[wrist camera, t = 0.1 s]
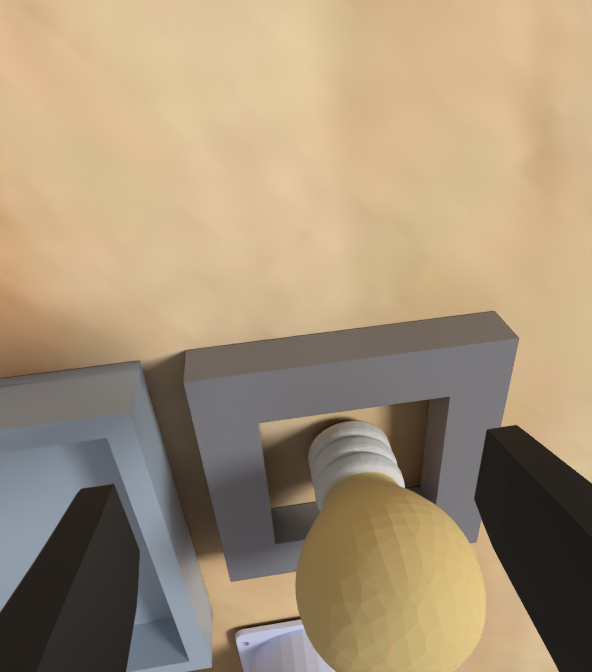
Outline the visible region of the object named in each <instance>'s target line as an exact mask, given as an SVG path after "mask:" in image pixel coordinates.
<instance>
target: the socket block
mask: <svg viewBox="0 0 592 672" xmlns="http://www.w3.org/2000/svg"><path fill="white" fill-rule="evenodd" d="M518 342H519V337H518V336H517V335H516V334H515V333H514V332H513V331H512V330H511V328H510V327H509V326H508V325H507V324H506V323H505V322H504V321H503V320H502V318H501V317H500V316H499V315H498V314H497V313H496V312H495V311H492V312H484V313H476V314H469V315H461V316H453V317H445V318H437V319H429V320H421V321H414V322H406V323H398V324H390V325H382V326H374V327H367V328H359V329H351V330H343V331H335V332H327V333H319V334H312V335H304V336H296V337H288V338H280V339H272V340H265V341H257V342H249V343H241V344H233V345H225V346H217V347H210V348H202V349H194V350H186V356H185V368H184V380H183V383H184V387H185V392H186V396H187V400H188V404H189V409H190V413H191V417H192V421H193V425H194V430H195V434H196V438H197V442H198V446H199V451H200V455H201V459H202V463H203V467H204V472H205V476H206V480H207V484H208V489H209V493H210V497H211V501H212V505H213V510H214V514H215V518H216V522H217V526H218V531H219V535H220V539H221V543H222V547H223V552H224V556H225V560H226V564H227V569H228V573H229V577H230V581H231V582H233V581H240V580H246V579H252V578H258V577H264V576H271V575H277V574H283V573H289V572H295V571H297V564H298V560H299V557H300V553H301V549H302V545H303V543H304V541H305V538H306V536H307V534H308V532H309V530H310V529H311V527H312V525H313V523H314V521H315V520H316V518H317V516H318V515H319V513H320V512H321V511H320V510H319V509H318V506H317V502H313V503H307V504H300V505H294V506H287V507H280V508H274V509H271V502H270V495H269V488H268V481H267V474H266V467H265V460H264V453H263V446H262V439H261V431H260V424H259V423H263V422H270V421H277V420H284V419H292V418H299V417H306V416H313V415H320V414H327V413H335V412H342V411H349V410H356V409H363V408H371V407H378V406H385V405H392V404H399V403H407V402H414V401H421V400H428V399H429V405H428V415H427V425H426V434H425V444H424V454H423V464H422V474H421V484H420V486H419V487H412V488H406V489H408V490H410V491H413V492H415V493H416V494H418V495H420V496H422V497H423V498H425V499H427V500H429V501H430V502H432V503H434V504H435V505H436V506H438V507H439V508H441V509H442V510H443V511H444V512H445V513H446V514H447V515H448V516H449V517H450V518H451V519H453V520H454V522H455V523H456V524H457V526H458V527H459V528H460V529H461V531H462V532H463V534H464V535H465V536H466V538H467V539H468V541H469V543H475V542H477V537H478V533H479V528H480V523H481V516H480V513H479V511H478V508H477V505H476V503H475V500H474V496H475V490H476V485H477V479H478V474H479V468H480V463H481V458H482V452H483V447H484V441H485V436H486V431H487V429H493V428H500V427H501V423H502V418H503V413H504V408H505V404H506V399H507V394H508V389H509V384H510V380H511V375H512V370H513V365H514V361H515V356H516V351H517V346H518Z"/></svg>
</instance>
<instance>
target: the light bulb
mask: <svg viewBox="0 0 592 672" xmlns="http://www.w3.org/2000/svg"><path fill="white" fill-rule="evenodd" d="M308 463H309V468H310V471H311V477H312V483H313V487H314V489H315V497H316V502H317V506H318V509H319V510H320V511H321V512H320V513H319V515H318V516H317V518H316V520H315V521H314V523H313V525H312V527H311V529H310V530H309V532H308V534H307V536H306V538H305V541H304V543H303V545H302V549H301V553H300V557H299V560H298V564H297V572H296V600H297V605H298V610H299V614H300V617H301V621H302V624H303V626H304V629H305V632H306V635H307V637H308V638H309V640H310V642H311V644H312V646H313V647H314V649H315V650H316V651H317V653H318V654H319V655H320V656H321V658H322V659H323V660H324V662H326V663H327V664H328V665H329V666H330V667H331V668H332V669H333V670H334V671H336V672H453V671H454V670H455V669H457V668H458V667H459V666H460V665H461V664H462V663H463V662H464V661H465V660H466V659H467V658H468V657H469V655H470V654H471V652H472V651H473V649H474V648H475V646H476V645H477V643H478V642H479V639H480V637H481V635H482V632H483V628H484V623H485V618H486V594H485V586H484V581H483V577H482V573H481V569H480V566H479V563H478V560H477V557H476V555H475V552H474V550H473V548H472V546H471V545H470V543H469V541H468V539H467V538H466V536H465V535H464V534H463V532H462V531H461V529H460V528H459V527H458V526H457V524H456V523H455V522H454V520H453V519H451V518H450V517H449V516H448V515H447V514H446V513H445V512H444V511H443V510H442V509H441V508H439V507H438V506H436V505H435V504H434V503H432V502H430V501H429V500H427V499H425V498H423V497H422V496H420V495H418V494H416V493H415V492H413V491H410V490H408V489H406V488H405V484H404V479H403V476H402V474H401V471H400V469H399V468H398V466H397V461H396V458H395V456H394V454H393V452H392V450H391V446H390V444H389V441H388V438H387V437H386V435H385V434H384V432H383V431H382V430H381V429H379V428H378V427H377V426H375V425H373V424H371V423H368V422H363V421H347V422H342V423H338V424H335V425H333V426H331V427H329V428H327V429H325V430H324V431H322V432H321V433H320V434H319V435H318V436H317V437H316V438H315V439H314V441H313V442H312V444H311V446H310V449H309V453H308Z"/></svg>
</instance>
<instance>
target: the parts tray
mask: <svg viewBox="0 0 592 672" xmlns="http://www.w3.org/2000/svg"><path fill="white" fill-rule="evenodd" d="M110 484H114V485H115V487H116V490H117V492H118V495H119V498H120V500H121V503H122V505H123V508H124V511H125V513H126V516H127V518H128V521H129V524H130V526H131V529H132V531H133V534H134V536H135V539H136V542H137V544H138V547H139V549H140V561H139V582H138V597H137V609H136V615H135V621H134V627H133V633H132V639H131V646H130V652H129V657H128V663H127V669H126V672H188V671H194V670H200V669H206V668H211V667H212V609H211V605H210V602H209V598H208V595H207V592H206V588H205V585H204V581H203V578H202V574H201V571H200V567H199V564H198V560H197V557H196V553H195V550H194V546H193V543H192V539H191V536H190V533H189V529H188V526H187V522H186V519H185V515H184V512H183V508H182V505H181V501H180V498H179V494H178V491H177V487H176V484H175V481H174V477H173V474H172V470H171V467H170V463H169V460H168V456H167V453H166V449H165V446H164V442H163V439H162V435H161V432H160V428H159V425H158V422H157V418H156V415H155V411H154V408H153V404H152V401H151V397H150V394H149V390H148V387H147V383H146V380H145V376H144V373H143V369H142V366H141V363H140V361H134V362H126V363H118V364H111V365H103V366H95V367H87V368H79V369H71V370H64V371H56V372H48V373H40V374H32V375H25V376H17V377H9V378H1V379H0V611H1V610H2V608H3V607H4V606H5V604H6V603H7V601H8V600H9V598H10V597H11V595H12V594H13V592H14V591H15V589H16V588H17V586H18V585H19V583H20V582H21V580H22V579H23V577H24V576H25V574H26V573H27V571H28V570H29V568H30V567H31V565H32V564H33V562H34V561H35V559H36V558H37V556H38V555H39V553H40V551H41V550H42V548H43V547H44V545H45V544H46V542H47V540H48V539H49V537H50V536H51V534H52V533H53V531H54V529H55V528H56V526H57V525H58V523H59V521H60V520H61V518H62V516H63V515H64V513H65V512H66V510H67V508H68V507H69V505H70V504H71V502H72V500H73V499H74V497H75V496H76V494H77V493H78V492H79V490H80V489H82V488H89V487H96V486H103V485H110Z"/></svg>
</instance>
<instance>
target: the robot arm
mask: <svg viewBox="0 0 592 672" xmlns="http://www.w3.org/2000/svg"><path fill="white" fill-rule="evenodd" d="M474 500H475V503H476V505H477V508H478V511H479V513H480V516H481V519H482V521H483V524H484V526H485V529H486V531H487V534H488V536H489V539H490V541H491V544H492V546H493V548H494V550H495V552H496V554H497V556H498V558H499V560H500V562H501V564H502V566H503V568H504V569H505V571H506V573H507V575H508V577H509V579H510V581H511V583H512V585H513V586H514V588H515V590H516V592H517V594H518V596H519V598H520V599H521V601H522V603H523V605H524V607H525V609H526V611H527V612H528V614H529V616H530V618H531V620H532V622H533V624H534V625H535V627H536V629H537V631H538V633H539V635H540V637H541V638H542V640H543V642H544V644H545V646H546V648H547V649H548V651H549V653H550V655H551V657H552V659H553V661H554V662H555V664H556V666H557V668H558V671H559V672H592V483H590V482H589V481H588V480H586V479H585V478H584V477H583V476H581V475H580V474H579V473H577V472H576V471H575V470H574V469H572V468H571V467H570V466H568V465H567V464H566V463H565V462H563V461H562V460H561V459H559V458H558V457H557V456H556V455H554V454H553V453H552V452H551V451H549V450H548V449H547V448H546V447H544V446H543V445H542V444H540V443H539V442H538V441H537V440H535V439H534V438H533V437H532V436H530V435H529V434H528V433H526V432H525V431H524V430H522V429H521V428H520V427H519V426H517V425H513V426H507V427H500V428H493V429H487V431H486V436H485V441H484V447H483V452H482V458H481V463H480V468H479V474H478V479H477V485H476V490H475V496H474ZM139 561H140V549H139V547H138V544H137V542H136V539H135V536H134V534H133V531H132V529H131V526H130V524H129V521H128V518H127V516H126V513H125V511H124V508H123V505H122V503H121V500H120V498H119V495H118V492H117V490H116V487H115V485H114V484H110V485H103V486H96V487H89V488H82V489H80V490H79V492H78V493H77V494H76V496H75V497H74V499H73V500H72V502H71V504H70V505H69V507H68V508H67V510H66V512H65V513H64V515H63V516H62V518H61V520H60V521H59V523H58V525H57V526H56V528H55V529H54V531H53V533H52V534H51V536H50V537H49V539H48V540H47V542H46V544H45V545H44V547H43V548H42V550H41V551H40V553H39V555H38V556H37V558H36V559H35V561H34V562H33V564H32V565H31V567H30V568H29V570H28V571H27V573H26V574H25V576H24V577H23V579H22V580H21V582H20V583H19V585H18V586H17V588H16V589H15V591H14V592H13V594H12V595H11V597H10V598H9V600H8V601H7V603H6V604H5V606H4V607H3V608H2V610H1V611H0V672H126V669H127V663H128V657H129V652H130V646H131V639H132V633H133V627H134V621H135V615H136V609H137V597H138V582H139ZM235 640H236V644H237V648H238V652H239V656H240V660H241V664H242V668H243V672H336V671H334V670H333V669H332V668H331V667H330V666H329V665H328V664H327V663H326V662H324V660H323V659H322V658H321V656H320V655H319V654H318V653H317V651H316V650H315V649H314V647H313V646H312V644H311V642H310V640H309V638H308V637H307V635H306V632H305V629H304V626H303V624H302V621H301V619H300V620H294V621H288V622H282V623H276V624H270V625H264V626H258V627H252V628H246V629H241V630H239V631H237V632H236V634H235Z"/></svg>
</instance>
